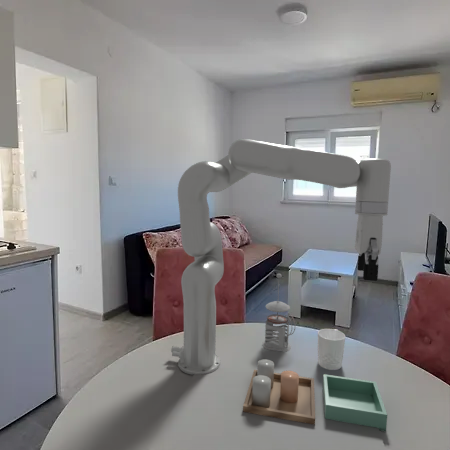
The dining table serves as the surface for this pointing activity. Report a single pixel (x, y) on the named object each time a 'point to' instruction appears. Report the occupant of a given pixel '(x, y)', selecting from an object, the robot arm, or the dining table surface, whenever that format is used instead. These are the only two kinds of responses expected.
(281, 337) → the french press
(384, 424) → the bin
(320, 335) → the white cup
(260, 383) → the pebble
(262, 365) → the pebble
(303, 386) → the tray
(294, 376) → the brown smooth lump
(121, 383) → the dining table surface
